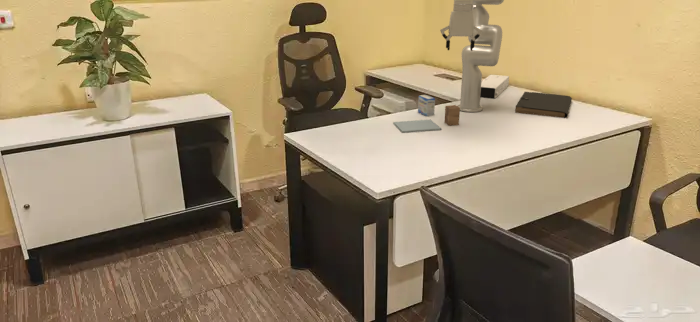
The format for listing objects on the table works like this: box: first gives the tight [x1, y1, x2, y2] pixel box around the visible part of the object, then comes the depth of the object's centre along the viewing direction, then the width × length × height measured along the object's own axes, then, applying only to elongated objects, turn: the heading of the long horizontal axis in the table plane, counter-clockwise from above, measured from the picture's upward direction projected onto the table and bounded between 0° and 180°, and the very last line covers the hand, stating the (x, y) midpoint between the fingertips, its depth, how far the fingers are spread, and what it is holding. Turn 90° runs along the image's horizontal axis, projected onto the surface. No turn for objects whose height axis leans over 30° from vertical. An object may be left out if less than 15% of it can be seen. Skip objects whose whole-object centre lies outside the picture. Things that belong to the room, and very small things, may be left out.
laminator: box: [480, 74, 510, 99], centre depth 300 cm, size 34×12×6 cm, turn 152°
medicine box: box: [417, 94, 436, 117], centre depth 258 cm, size 8×4×9 cm, turn 27°
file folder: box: [514, 91, 573, 119], centre depth 269 cm, size 33×4×24 cm
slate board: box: [393, 119, 442, 134], centre depth 240 cm, size 14×18×1 cm
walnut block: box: [443, 104, 461, 127], centre depth 243 cm, size 5×5×8 cm
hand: (459, 50), depth 227 cm, fingers open, 9 cm apart
